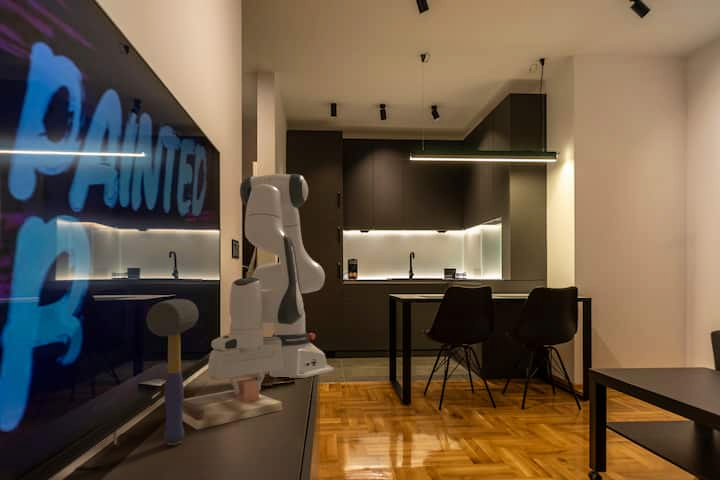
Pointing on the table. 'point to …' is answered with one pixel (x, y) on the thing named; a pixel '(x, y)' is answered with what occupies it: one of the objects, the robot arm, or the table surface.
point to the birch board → (227, 411)
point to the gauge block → (248, 389)
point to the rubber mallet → (173, 357)
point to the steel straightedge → (212, 398)
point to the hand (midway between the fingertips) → (247, 391)
